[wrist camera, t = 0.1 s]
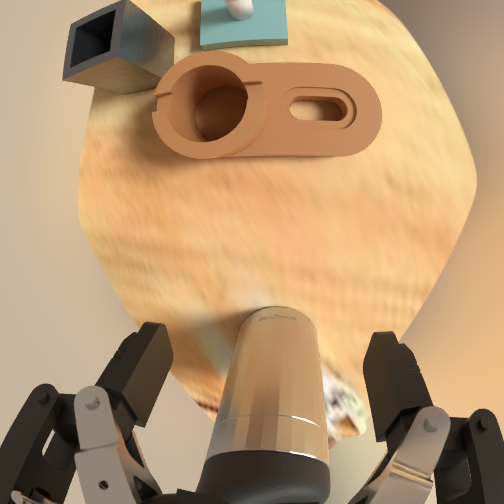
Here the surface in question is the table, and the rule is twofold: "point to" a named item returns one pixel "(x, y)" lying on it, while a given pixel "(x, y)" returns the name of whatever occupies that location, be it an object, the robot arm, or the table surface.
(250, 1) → the shaft mount
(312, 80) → the bracket
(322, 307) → the table surface
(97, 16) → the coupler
